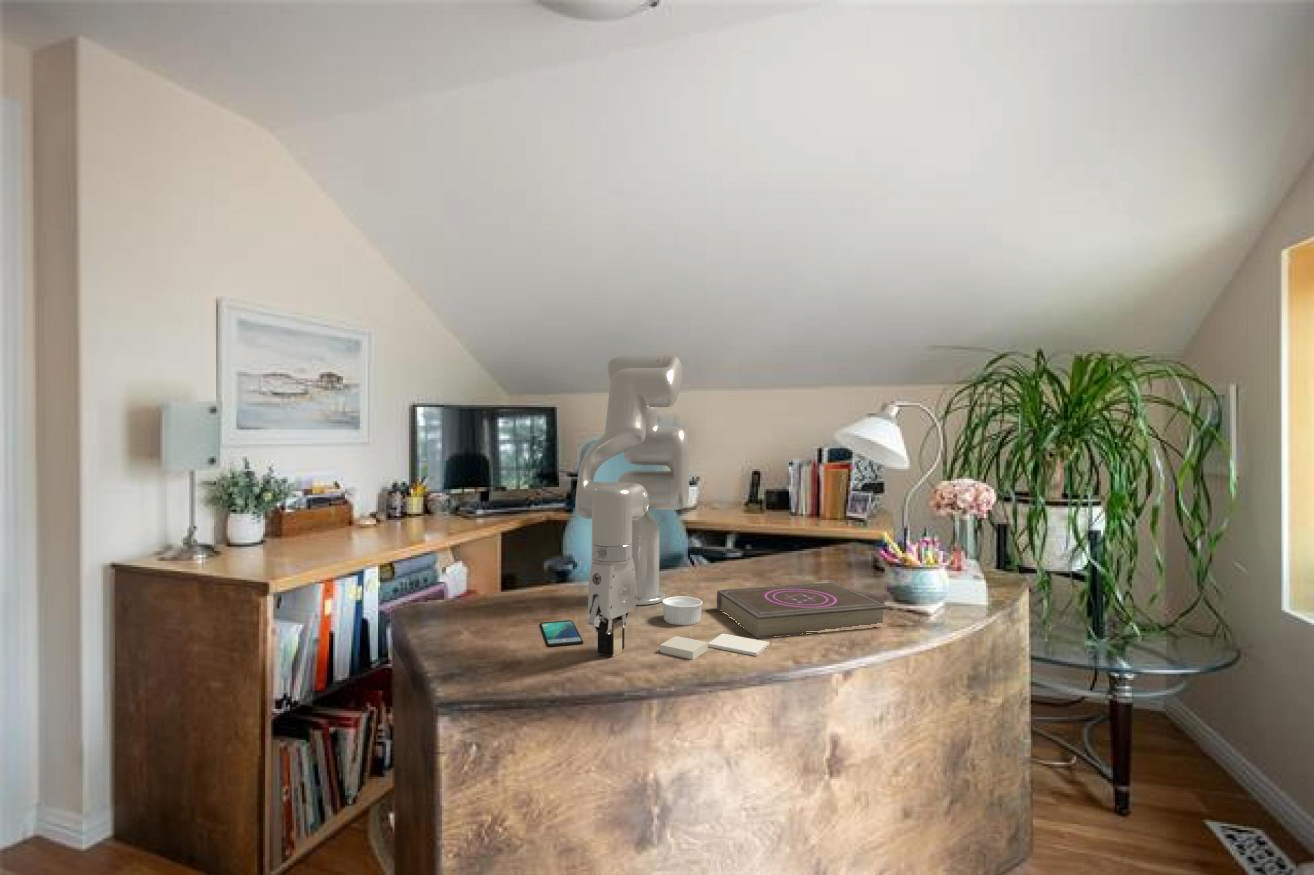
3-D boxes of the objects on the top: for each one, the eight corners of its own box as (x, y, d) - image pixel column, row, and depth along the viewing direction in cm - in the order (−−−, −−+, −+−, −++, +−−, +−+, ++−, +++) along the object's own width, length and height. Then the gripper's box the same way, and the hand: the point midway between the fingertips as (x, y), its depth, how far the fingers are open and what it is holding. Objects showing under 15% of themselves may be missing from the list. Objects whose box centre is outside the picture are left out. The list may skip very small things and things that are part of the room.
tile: (660, 644, 119) (692, 651, 115) (675, 635, 124) (707, 642, 121) (659, 654, 119) (692, 661, 115) (675, 644, 124) (707, 651, 121)
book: (757, 641, 127) (757, 616, 127) (716, 610, 148) (716, 589, 148) (888, 629, 136) (888, 606, 135) (831, 601, 157) (831, 581, 157)
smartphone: (547, 645, 121) (539, 622, 135) (547, 649, 121) (539, 625, 135) (584, 642, 123) (572, 619, 137) (584, 646, 123) (572, 623, 137)
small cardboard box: (599, 653, 118) (599, 621, 118) (608, 648, 120) (609, 617, 120) (613, 657, 116) (613, 624, 116) (622, 651, 119) (622, 620, 119)
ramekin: (660, 615, 143) (660, 595, 143) (699, 614, 144) (699, 595, 144) (664, 627, 134) (664, 607, 134) (705, 626, 135) (705, 606, 135)
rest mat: (707, 646, 122) (707, 643, 122) (722, 636, 128) (722, 633, 128) (756, 656, 117) (756, 652, 117) (769, 645, 123) (769, 641, 123)
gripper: (603, 563, 109) (602, 669, 109) (651, 548, 123) (650, 642, 124) (568, 558, 113) (568, 661, 113) (618, 544, 127) (618, 635, 127)
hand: (611, 650), depth 118 cm, fingers closed on small cardboard box, 2 cm apart
